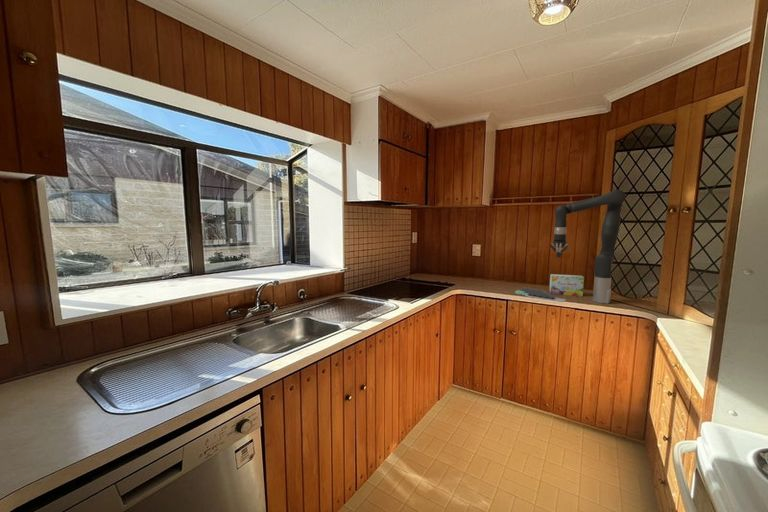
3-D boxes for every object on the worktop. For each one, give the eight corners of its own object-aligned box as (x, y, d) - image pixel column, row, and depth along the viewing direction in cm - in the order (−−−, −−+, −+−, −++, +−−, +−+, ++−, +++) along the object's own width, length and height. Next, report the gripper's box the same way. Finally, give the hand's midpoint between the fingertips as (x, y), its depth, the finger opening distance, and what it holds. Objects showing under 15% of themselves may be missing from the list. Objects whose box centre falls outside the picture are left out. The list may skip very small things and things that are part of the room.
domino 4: (548, 295, 219) (535, 288, 225) (546, 296, 216) (533, 289, 222) (547, 297, 220) (534, 289, 226) (545, 298, 216) (532, 290, 222)
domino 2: (536, 293, 225) (524, 286, 231) (534, 294, 221) (521, 287, 227) (535, 295, 226) (523, 288, 232) (533, 296, 222) (520, 289, 228)
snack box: (550, 294, 228) (551, 275, 226) (549, 293, 234) (550, 273, 232) (582, 296, 222) (584, 276, 220) (580, 294, 227) (581, 275, 226)
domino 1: (531, 292, 228) (517, 290, 235) (528, 293, 224) (514, 291, 232) (530, 294, 228) (517, 292, 235) (528, 295, 225) (514, 293, 232)
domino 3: (542, 294, 222) (530, 287, 228) (540, 295, 219) (527, 288, 225) (541, 296, 223) (529, 288, 229) (539, 297, 219) (526, 290, 225)
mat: (566, 299, 213) (566, 299, 213) (562, 302, 206) (562, 302, 206) (528, 293, 232) (528, 293, 232) (523, 296, 225) (523, 295, 225)
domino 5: (554, 296, 216) (541, 288, 222) (552, 297, 213) (539, 290, 219) (553, 298, 217) (540, 290, 223) (551, 299, 213) (537, 291, 219)
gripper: (572, 233, 215) (570, 257, 217) (551, 233, 224) (550, 256, 226) (569, 234, 210) (567, 258, 212) (548, 233, 219) (547, 257, 221)
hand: (558, 257), depth 219 cm, fingers closed
